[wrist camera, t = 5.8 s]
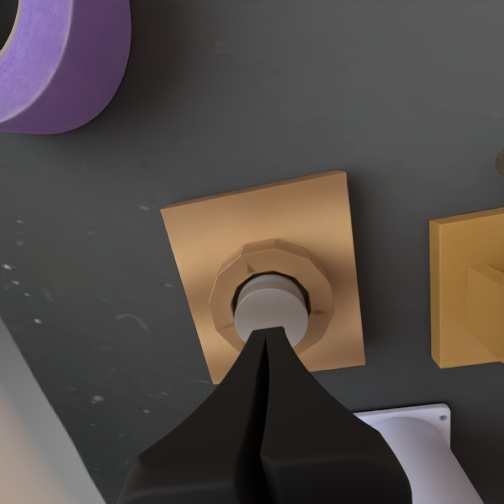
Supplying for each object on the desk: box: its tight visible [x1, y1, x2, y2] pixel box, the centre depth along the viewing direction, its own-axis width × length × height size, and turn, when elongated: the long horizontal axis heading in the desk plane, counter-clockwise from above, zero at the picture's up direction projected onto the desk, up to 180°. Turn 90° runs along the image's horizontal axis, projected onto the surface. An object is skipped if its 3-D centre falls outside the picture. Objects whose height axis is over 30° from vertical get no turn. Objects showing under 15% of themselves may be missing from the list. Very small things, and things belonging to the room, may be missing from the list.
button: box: [234, 274, 309, 347], centre depth 15 cm, size 4×4×2 cm
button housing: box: [161, 170, 366, 384], centre depth 17 cm, size 12×10×4 cm
